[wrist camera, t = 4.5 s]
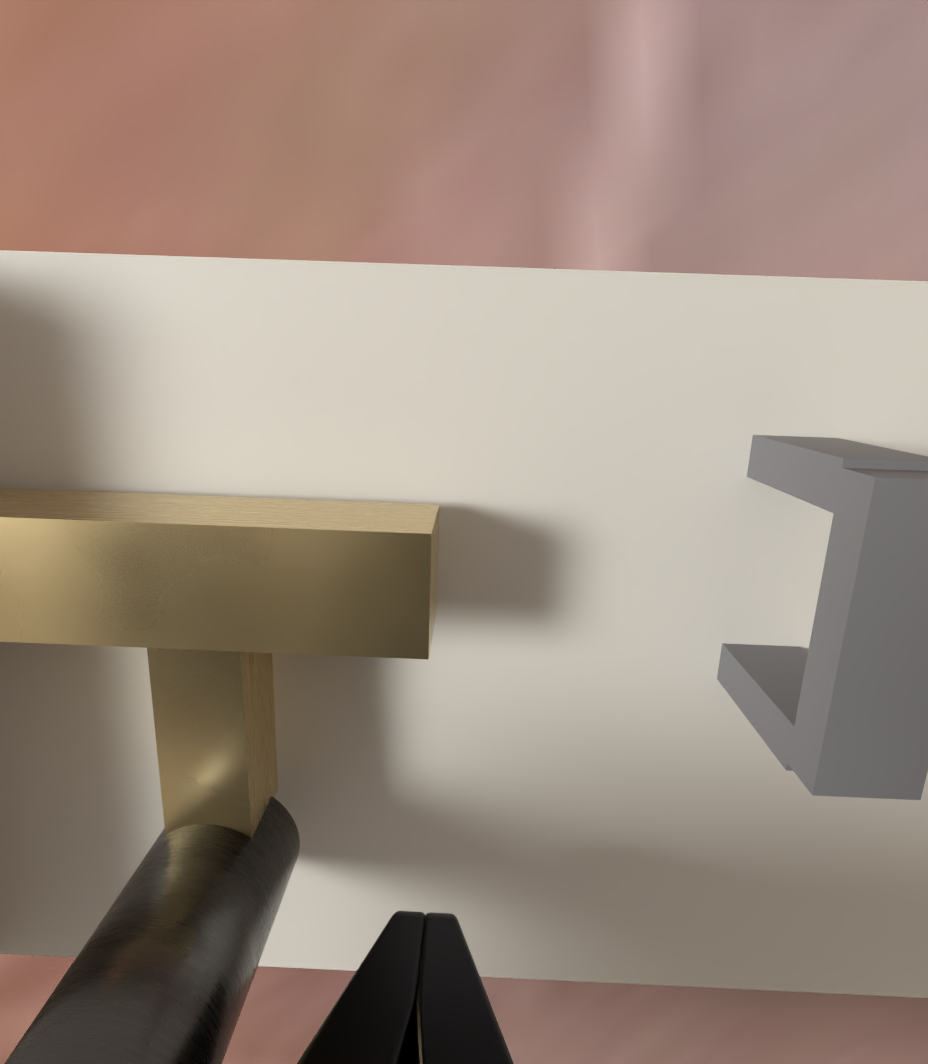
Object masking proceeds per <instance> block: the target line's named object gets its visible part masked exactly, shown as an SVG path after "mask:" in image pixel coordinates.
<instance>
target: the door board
mask: <svg viewBox="0 0 928 1064" xmlns="http://www.w3.org/2000/svg"><path fill="white" fill-rule="evenodd" d="M0 488H15V489H41V490H67V491H93V492H119V493H145V494H171V495H197V496H223V497H249V498H275V499H301V500H327V501H353V502H380V503H406V504H432V505H439V542H438V581H437V613H436V618H435V624H434V630H433V636H432V642H431V648H430V654H429V659H405V658H381V657H357V656H333V655H309V654H285V653H272V663H273V686H274V708H275V730H276V753H277V775H278V790H277V793H276V795H275V797H274V798H275V799H276V800H278V801H279V802H280V803H281V804H282V805H283V806H284V807H285V808H286V809H287V811H288V812H289V813H290V815H291V816H292V818H293V820H294V821H295V824H296V826H297V829H298V833H299V839H300V849H299V854H298V858H297V860H296V863H295V866H294V868H293V871H292V874H291V877H290V879H289V882H288V885H287V887H286V890H285V893H284V896H283V898H282V901H281V904H280V907H279V909H278V912H277V915H276V917H275V920H274V923H273V926H272V928H271V931H270V934H269V936H268V939H267V942H266V945H265V947H264V950H263V953H262V956H261V958H260V961H259V964H258V966H269V967H290V968H311V969H332V970H352V971H357V969H358V968H359V966H360V965H361V963H362V962H363V960H364V959H365V957H366V955H367V954H368V952H369V951H370V949H371V948H372V946H373V945H374V943H375V941H376V940H377V938H378V937H379V935H380V934H381V932H382V931H383V929H384V927H385V926H386V924H387V923H388V921H389V920H390V918H391V917H392V915H393V914H394V913H395V912H397V911H413V912H423V913H424V914H425V915H426V914H427V913H430V912H432V913H449V914H454V915H455V916H456V918H457V919H458V921H459V924H460V927H461V929H462V932H463V934H464V937H465V939H466V942H467V945H468V947H469V950H470V952H471V955H472V958H473V960H474V963H475V965H476V968H477V970H478V973H479V976H480V977H499V978H519V979H540V980H561V981H582V982H603V983H624V984H645V985H665V986H686V987H707V988H728V989H749V990H770V991H791V992H811V993H832V994H853V995H874V996H895V997H916V998H928V282H926V281H896V280H867V279H837V278H807V277H777V276H748V275H718V274H688V273H658V272H629V271H599V270H569V269H539V268H510V267H480V266H450V265H420V264H391V263H361V262H331V261H301V260H272V259H242V258H212V257H182V256H153V255H123V254H93V253H63V252H34V251H4V250H0ZM164 828H165V827H164V817H163V807H162V796H161V786H160V776H159V766H158V756H157V745H156V735H155V725H154V715H153V705H152V695H151V684H150V674H149V664H148V654H147V648H141V647H117V646H92V645H68V644H44V643H20V642H0V954H19V955H40V956H60V957H77V956H78V955H79V953H80V952H81V950H82V949H83V947H84V946H85V944H86V943H87V941H88V940H89V938H90V937H91V935H92V934H93V933H94V931H95V930H96V928H97V927H98V925H99V924H100V922H101V921H102V919H103V918H104V916H105V915H106V913H107V912H108V910H109V909H110V907H111V906H112V904H113V903H114V901H115V900H116V899H117V897H118V896H119V894H120V893H121V891H122V890H123V888H124V887H125V885H126V884H127V882H128V881H129V879H130V878H131V876H132V875H133V873H134V872H135V870H136V869H137V868H138V866H139V865H140V863H141V862H142V860H143V859H144V857H145V856H146V854H147V853H148V851H149V850H150V848H151V847H152V845H153V844H154V842H155V841H156V839H157V838H158V837H159V835H160V834H161V832H162V831H163V829H164Z"/></svg>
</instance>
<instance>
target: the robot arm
mask: <svg viewBox="0 0 928 1064" xmlns="http://www.w3.org/2000/svg"><path fill="white" fill-rule="evenodd" d="M297 1064H513V1061H512V1058H511V1056H510V1053H509V1051H508V1048H507V1045H506V1043H505V1040H504V1038H503V1035H502V1033H501V1030H500V1027H499V1025H498V1022H497V1020H496V1017H495V1014H494V1012H493V1009H492V1007H491V1004H490V1002H489V999H488V996H487V994H486V991H485V989H484V986H483V983H482V981H481V978H480V976H479V973H478V970H477V968H476V965H475V963H474V960H473V958H472V955H471V952H470V950H469V947H468V945H467V942H466V939H465V937H464V934H463V932H462V929H461V927H460V924H459V921H458V919H457V918H456V916H455V915H454V914H449V913H432V912H430V913H427V914H426V915H425V914H424V913H423V912H413V911H397V912H395V913H394V914H393V915H392V917H391V918H390V920H389V921H388V923H387V924H386V926H385V927H384V929H383V931H382V932H381V934H380V935H379V937H378V938H377V940H376V941H375V943H374V945H373V946H372V948H371V949H370V951H369V952H368V954H367V955H366V957H365V959H364V960H363V962H362V963H361V965H360V966H359V968H358V969H357V971H356V973H355V974H354V976H353V977H352V979H351V980H350V982H349V983H348V985H347V987H346V988H345V990H344V991H343V993H342V994H341V996H340V997H339V999H338V1001H337V1002H336V1004H335V1005H334V1007H333V1008H332V1010H331V1011H330V1013H329V1015H328V1016H327V1018H326V1019H325V1021H324V1022H323V1024H322V1025H321V1027H320V1029H319V1030H318V1032H317V1033H316V1035H315V1036H314V1038H313V1039H312V1041H311V1043H310V1044H309V1046H308V1047H307V1049H306V1050H305V1052H304V1053H303V1055H302V1057H301V1058H300V1060H299V1061H298V1063H297Z"/></svg>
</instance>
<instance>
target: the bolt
mask: <svg viewBox="0 0 928 1064" xmlns="http://www.w3.org/2000/svg"><path fill="white" fill-rule="evenodd" d="M438 542H439V505H432V504H406V503H380V502H353V501H327V500H301V499H275V498H249V497H223V496H197V495H171V494H145V493H119V492H93V491H67V490H41V489H15V488H0V642H20V643H44V644H68V645H92V646H117V647H141V648H147V654H148V664H149V674H150V684H151V695H152V705H153V715H154V725H155V735H156V745H157V756H158V766H159V776H160V786H161V796H162V807H163V817H164V827H165V828H164V829H163V831H162V832H161V834H160V835H159V837H158V838H157V839H156V841H155V842H154V844H153V845H152V847H151V848H150V850H149V851H148V853H147V854H146V856H145V857H144V859H143V860H142V862H141V863H140V865H139V866H138V868H137V869H136V870H135V872H134V873H133V875H132V876H131V878H130V879H129V881H128V882H127V884H126V885H125V887H124V888H123V890H122V891H121V893H120V894H119V896H118V897H117V899H116V900H115V901H114V903H113V904H112V906H111V907H110V909H109V910H108V912H107V913H106V915H105V916H104V918H103V919H102V921H101V922H100V924H99V925H98V927H97V928H96V930H95V931H94V933H93V934H92V935H91V937H90V938H89V940H88V941H87V943H86V944H85V946H84V947H83V949H82V950H81V952H80V953H79V955H78V956H77V958H76V959H75V961H74V962H73V964H72V965H71V966H70V968H69V969H68V971H67V972H66V974H65V975H64V977H63V978H62V980H61V981H60V983H59V984H58V986H57V987H56V989H55V990H54V992H53V993H52V995H51V996H50V997H49V999H48V1000H47V1002H46V1003H45V1005H44V1006H43V1008H42V1009H41V1011H40V1012H39V1014H38V1015H37V1017H36V1018H35V1020H34V1021H33V1023H32V1024H31V1026H30V1027H29V1028H28V1030H27V1031H26V1033H25V1034H24V1036H23V1037H22V1039H21V1040H20V1042H19V1043H18V1045H17V1046H16V1048H15V1049H14V1051H13V1052H12V1054H11V1055H10V1057H9V1058H8V1059H7V1061H6V1062H5V1064H222V1062H223V1059H224V1056H225V1054H226V1051H227V1048H228V1045H229V1043H230V1040H231V1037H232V1035H233V1032H234V1029H235V1026H236V1024H237V1021H238V1018H239V1015H240V1013H241V1010H242V1007H243V1005H244V1002H245V999H246V996H247V994H248V991H249V988H250V986H251V983H252V980H253V977H254V975H255V972H256V969H257V966H258V964H259V961H260V958H261V956H262V953H263V950H264V947H265V945H266V942H267V939H268V936H269V934H270V931H271V928H272V926H273V923H274V920H275V917H276V915H277V912H278V909H279V907H280V904H281V901H282V898H283V896H284V893H285V890H286V887H287V885H288V882H289V879H290V877H291V874H292V871H293V868H294V866H295V863H296V860H297V858H298V854H299V849H300V839H299V833H298V829H297V826H296V824H295V821H294V820H293V818H292V816H291V815H290V813H289V812H288V811H287V809H286V808H285V807H284V806H283V805H282V804H281V803H280V802H279V801H278V800H276V799H275V798H274V797H275V795H276V793H277V790H278V775H277V753H276V730H275V708H274V686H273V663H272V653H285V654H309V655H333V656H357V657H381V658H405V659H429V654H430V648H431V642H432V636H433V630H434V624H435V618H436V613H437V581H438Z"/></svg>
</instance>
